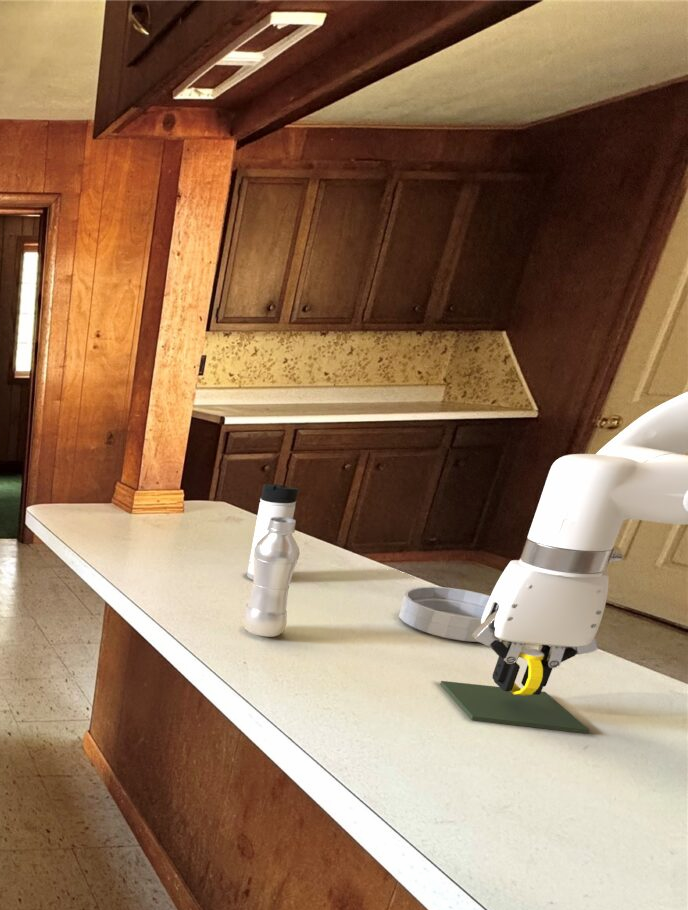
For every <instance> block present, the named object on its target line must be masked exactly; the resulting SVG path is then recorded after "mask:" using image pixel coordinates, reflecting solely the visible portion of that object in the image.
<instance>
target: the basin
mask: <svg viewBox="0 0 688 910" xmlns="http://www.w3.org/2000/svg"><path fill="white" fill-rule="evenodd" d="M490 596H491V595H489V594H485V593H482V592H476V591H472V590H469V589H468V590H467V589H461V588H453V587H445V586H444V587H443V586H417V587H413V588H409V589H407V590H405V591H404V592H403V596H402V600H401V603H400V607H399V612H398V617H399V619H400V620H401V621H402V622H403V623H405V624H407V625H408V626H410V627H412V628H414V629H417V630H419V631H421V632H424V633H426V634H429V635H432V636H436V637H438V638H439V637H440V638H445V639H447V640H448V639H449V640H452V641H453V640H454V641H461V642H469V643H479V642H478V641H477V640H475V639H474V638H473V637H472V633H473V632H474V631H475V630H476V629H477V628H478V627H479V626H480V625H481V619H482V616H483V613H484V610H485V608H486V607H485V606H486V605H487V603H488V600H489V598H490ZM492 637H495V638H497V637H496V636H495V632H494V633H493V635H492ZM497 639H498V640H500V639H499V638H497Z"/></svg>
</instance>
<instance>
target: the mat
mask: <svg viewBox="0 0 688 910" xmlns="http://www.w3.org/2000/svg"><path fill="white" fill-rule="evenodd" d="M439 685H440V686H441V687H442V688H443V690H444V691H445V692H446V693H447V694H448V695H449V696H450V697H451V699H452V700H453V701H454V702H455V703H456V704H457V705H458V706H459V708H460V709H461V710H462V711H463V712H464V713H465V715H466V716H468V718H469V719H470V720H471V721H479V722H485V723H487V722H488V723H495V724H503V725H512V726H521V727H527V728H528V727H529V728H536V729H546V730H554V731H562V732H568V733H569V732H571V733H577V734H587V735H588V733H589V732H590V729H589V728H588V727H587V726H586V725H584V724H583V723H582V721H579V719H577V718H576V717H575V716H574V715H572V713H570V712H569V711H568V710H567V709H566V708H565V707H564V706H562V705H561V704H560V703H559V702H557V701H556V700H555V699H554V698H553V697H552V696H551V695H550V694H549V693H547V692H546V691H543V690H542V691H541V693H540V695H536V694H531V695H526V696H522V695H514V694H513V693H512V692H511V691H509V692H508V691H503V690H502V689H501V688H500V687H499V686H493V685H485V684H474V683H465V682H456V681H447V680H440V683H439Z"/></svg>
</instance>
